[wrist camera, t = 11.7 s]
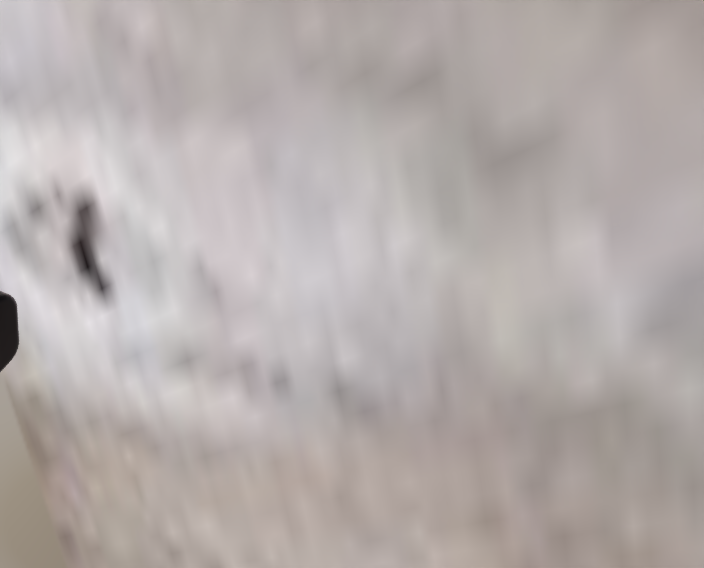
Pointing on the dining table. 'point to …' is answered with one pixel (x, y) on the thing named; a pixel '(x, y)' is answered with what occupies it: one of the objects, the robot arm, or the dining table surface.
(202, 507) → the dining table surface
